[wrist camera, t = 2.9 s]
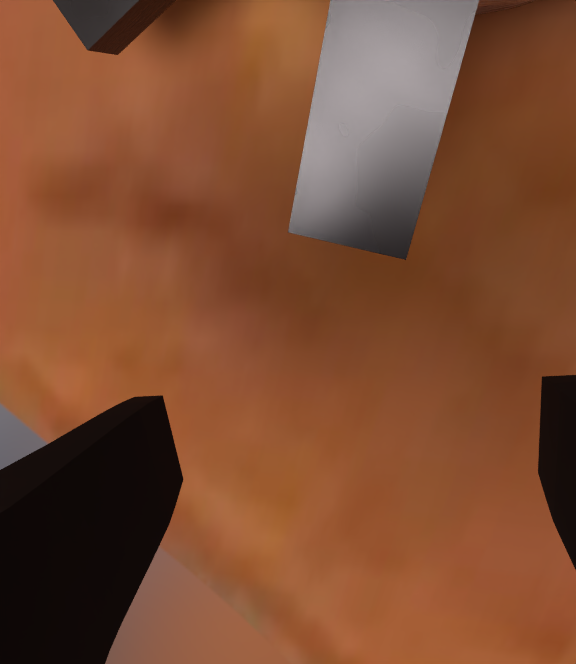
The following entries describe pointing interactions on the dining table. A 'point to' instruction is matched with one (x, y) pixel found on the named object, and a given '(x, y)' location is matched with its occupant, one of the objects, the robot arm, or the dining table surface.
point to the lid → (378, 118)
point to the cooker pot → (136, 20)
